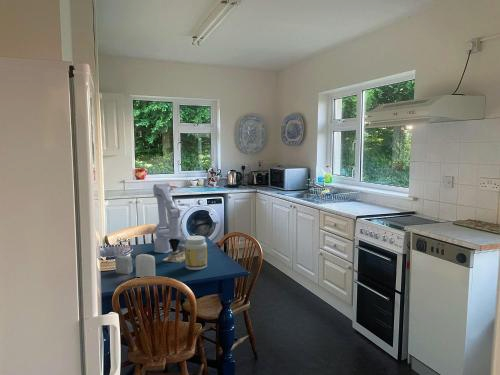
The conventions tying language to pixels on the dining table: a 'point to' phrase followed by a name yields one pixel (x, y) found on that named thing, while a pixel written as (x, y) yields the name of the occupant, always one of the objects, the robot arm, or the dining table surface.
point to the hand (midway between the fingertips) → (174, 251)
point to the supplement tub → (195, 253)
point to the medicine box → (123, 264)
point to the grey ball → (181, 247)
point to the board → (176, 257)
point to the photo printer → (145, 265)
